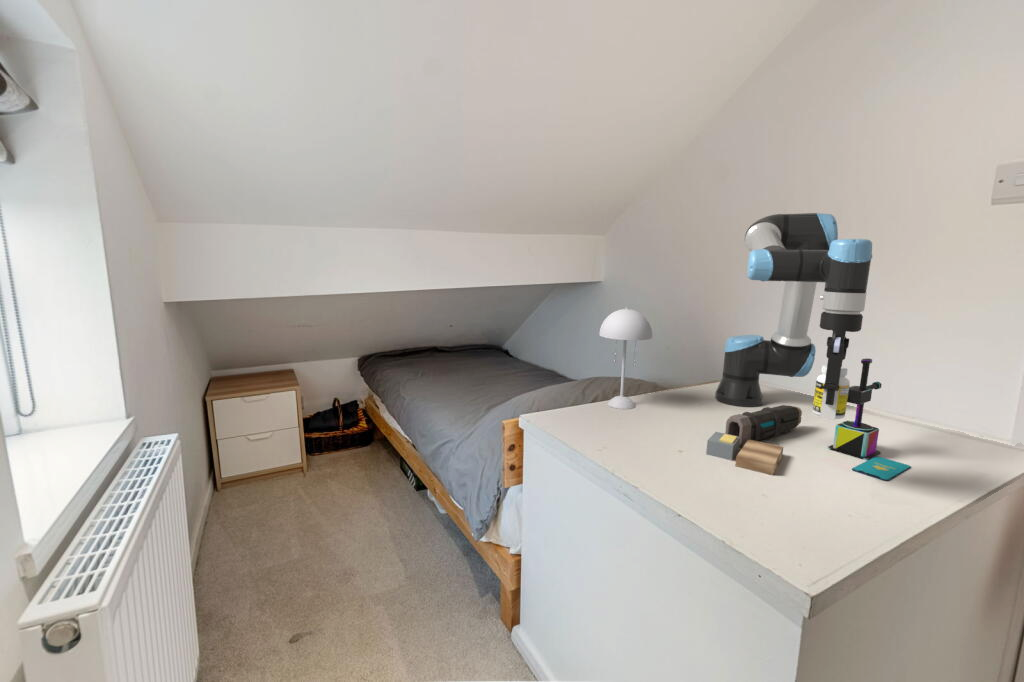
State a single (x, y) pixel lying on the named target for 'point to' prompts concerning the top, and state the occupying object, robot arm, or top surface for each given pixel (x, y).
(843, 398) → the pill bottle
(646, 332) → the lamp
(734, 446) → the block
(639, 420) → the top surface
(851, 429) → the colourful clamp stand
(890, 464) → the smartphone
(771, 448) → the board
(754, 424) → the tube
